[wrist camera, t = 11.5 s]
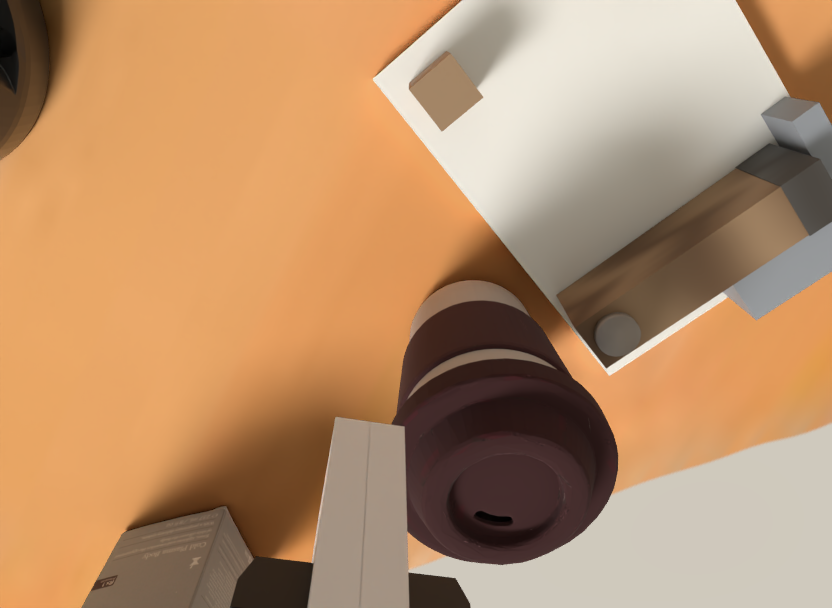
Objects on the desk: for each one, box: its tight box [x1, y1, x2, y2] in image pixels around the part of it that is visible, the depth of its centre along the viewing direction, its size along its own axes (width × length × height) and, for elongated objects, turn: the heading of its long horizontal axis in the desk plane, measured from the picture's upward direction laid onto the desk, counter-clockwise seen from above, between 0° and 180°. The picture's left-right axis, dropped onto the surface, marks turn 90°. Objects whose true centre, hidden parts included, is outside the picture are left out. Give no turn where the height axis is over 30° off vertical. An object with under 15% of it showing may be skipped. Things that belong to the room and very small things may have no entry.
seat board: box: [373, 0, 832, 376], centre depth 33 cm, size 22×16×5 cm
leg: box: [556, 143, 832, 368], centre depth 34 cm, size 14×3×5 cm, turn 129°
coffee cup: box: [391, 280, 618, 565], centre depth 33 cm, size 10×10×15 cm
